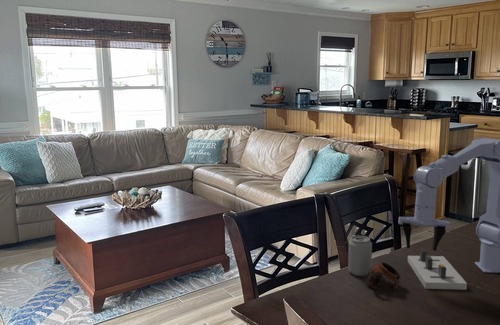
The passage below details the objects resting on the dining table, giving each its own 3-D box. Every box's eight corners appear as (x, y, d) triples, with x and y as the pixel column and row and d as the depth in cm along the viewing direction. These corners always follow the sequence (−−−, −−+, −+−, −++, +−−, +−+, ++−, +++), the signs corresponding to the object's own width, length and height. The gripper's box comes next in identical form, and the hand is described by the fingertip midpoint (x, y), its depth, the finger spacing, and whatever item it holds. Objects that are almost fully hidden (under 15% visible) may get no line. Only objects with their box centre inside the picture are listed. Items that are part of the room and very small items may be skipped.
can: (369, 268, 150) (370, 234, 148) (373, 277, 143) (374, 241, 141) (346, 267, 151) (347, 234, 149) (349, 277, 144) (350, 241, 142)
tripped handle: (442, 274, 138) (443, 263, 138) (445, 277, 136) (446, 267, 135) (438, 274, 138) (438, 263, 138) (440, 277, 136) (441, 267, 135)
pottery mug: (369, 278, 144) (383, 258, 142) (393, 298, 138) (408, 278, 136) (354, 281, 134) (368, 260, 132) (379, 303, 129) (395, 281, 127)
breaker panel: (443, 261, 154) (443, 246, 154) (466, 289, 133) (467, 272, 132) (407, 261, 156) (408, 245, 155) (425, 288, 134) (425, 271, 133)
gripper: (401, 206, 133) (397, 249, 135) (453, 210, 130) (448, 255, 132) (399, 201, 140) (395, 242, 142) (448, 205, 137) (443, 247, 138)
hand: (421, 248), depth 137 cm, fingers open, 7 cm apart
